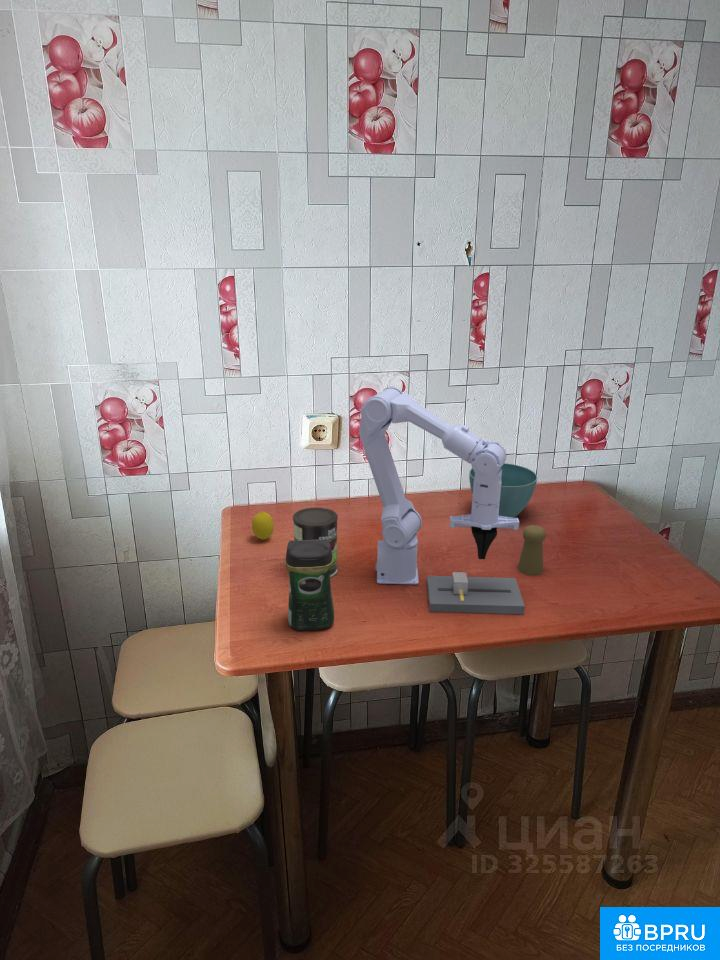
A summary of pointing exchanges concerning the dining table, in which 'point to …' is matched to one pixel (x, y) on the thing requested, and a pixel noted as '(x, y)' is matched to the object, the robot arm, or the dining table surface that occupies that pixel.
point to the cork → (532, 551)
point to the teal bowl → (513, 488)
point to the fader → (459, 583)
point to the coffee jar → (309, 584)
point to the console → (475, 596)
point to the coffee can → (317, 528)
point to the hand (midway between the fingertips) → (481, 557)
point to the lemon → (262, 525)
